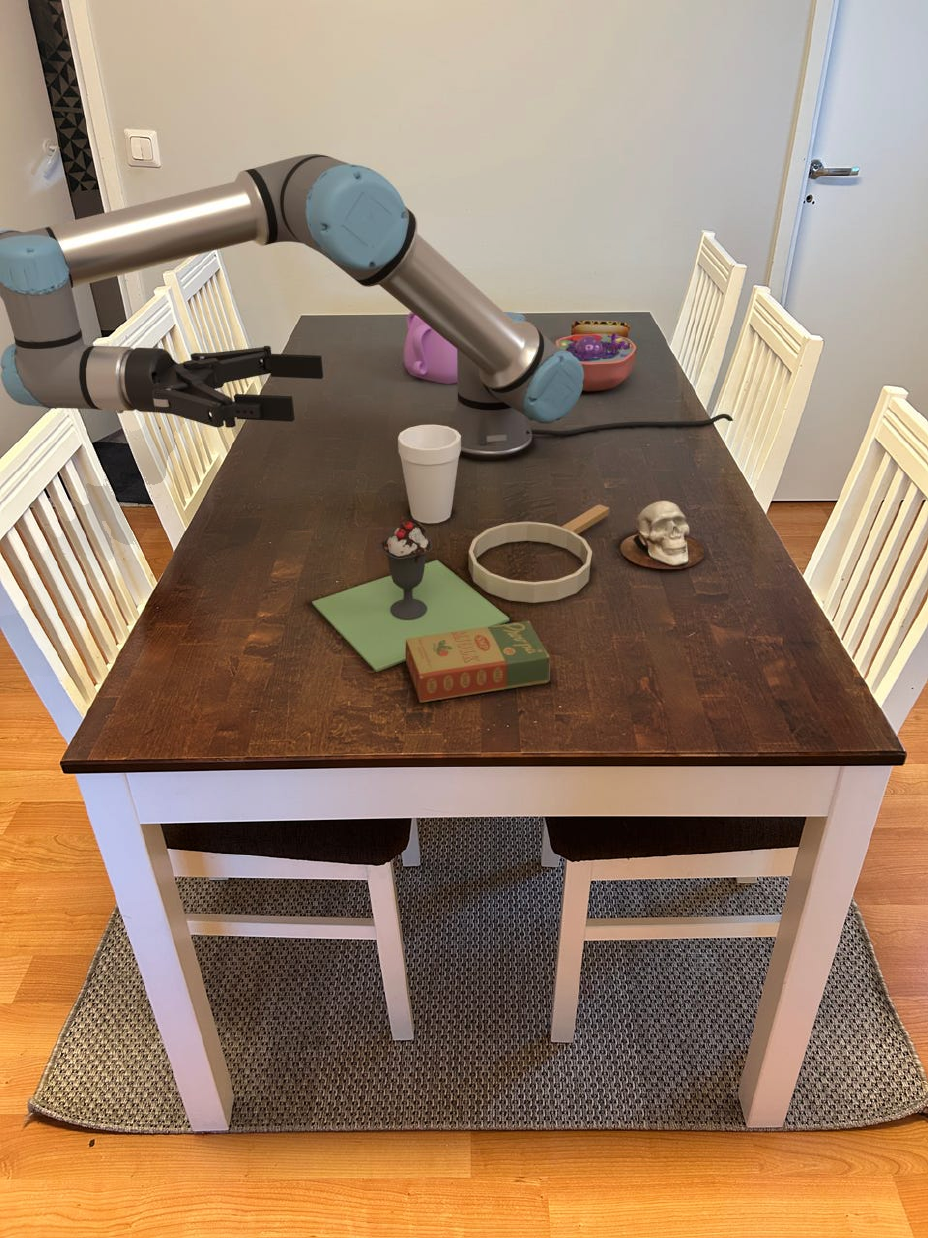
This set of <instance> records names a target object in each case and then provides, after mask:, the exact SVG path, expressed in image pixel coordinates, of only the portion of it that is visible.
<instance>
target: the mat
mask: <svg viewBox="0 0 928 1238" xmlns="http://www.w3.org/2000/svg"><path fill="white" fill-rule="evenodd" d="M412 595H413V599H417V600H420V601H422V602H423V603H424V604H425V605H426V606H427V611H426V613H425V614H424V615H423V616H421V617H420V618H417V619H413V620H403V619H399V618H396V617H395V616H393V615H392V614H391V612H390V608H391V606H392V604H393V603H395V602H397V601H399V600H402V599H403V598H404V591H403V589H401V588H400V587H398V586H397V585H396V584H395V583H394V582H393V580H392V577H391V574H390V575H387V576H384V577H382V578H379V579H376V580H373V581H369V582H367V583H363V584H360V585H358V586H355V587H352V588H348V589H345V590H343V591H340V592H336V593H333V594H330V595H328V596H325V597H322V598H319V599H316V600H312V601H311V605H313V607H314V608H315V609H316V610H317V611H318V612H319V613H320V614H321V615H322V616H323V617H324V618H325V620H326V621H328V622H329V624H330V625H331V626H332V627H333V628H334V629H335V630H336V631H337V632H338V633H339V634H340V635H341V636H342V638H344V640H346V641H347V643H348V644H349V645H350V646H351V647H352V648H353V649H354V650H355V651H356V653H358V655H359V656H360V657H361V658H362V659H363V660H364V661H365V662H366V663H367V664H368V665H369V666H370V667H371V668H372V669H373V670H374V672H375V673H379V672H381V671H384V670H386V669H389V668H391V667H394V666H396V665H398V664H401V663H404V662H406V654H405V646H406V639H407V638H414V637H421V636H427V635H435V634H442V633H448V632H455V631H462V630H469V629H475V628H482V627H489V626H495V625H502V624H506V623H508V622H509V621H510V618H509V617H508V616H507V615H506V614H505V613H503V612H502V611H501V610H500V609H498V608H497V607H496V606H495V605H493V604H492V603H491V601H489V600H488V599H486V598H485V597H484V596H483V595H481V594H480V593H479V592H477V591H476V589H474V588H473V587H471V586H470V585H469V584H468V583H466V582H465V581H464V580H463V579H462V578H461V577H459V576H458V575H456V573H454V572H453V571H452V570H450V569H449V568H448V567H447V566H446V565H444V564H443V562H440V561H439V560H438V559H435V560H431V561H428V562H425V567H424V574H423V579H422V581H421V583H420V584H419V585H418V586H417V587H415V588H413V590H412Z"/></svg>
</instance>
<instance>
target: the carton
mask: <svg viewBox="0 0 928 1238" xmlns="http://www.w3.org/2000/svg"><path fill="white" fill-rule="evenodd" d="M405 654H406V661H405V663H406V666H407V669H408V671H409V674H410V677H411V681H412V683H413V686H414V689H415V692H416V695H417V698H418V702H419V703H427V702H434V701H439V700H446V699H452V698H458V697H465V696H471V695H478V694H483V693H489V692H497V691H503V690H510V689H517V688H524V687H531V686H540V685H545V684H547V683H549V682H551V658H550V657H551V656H550V654H549V653H548V652H547V650H546V648H545V647H544V644H543V643H542V642H541V640H540V638H539V636H538V635H537V633H536V631H535V629H534V627H533V625H532V623H531V622H530V620H523V621H517V622H515V621H514V622H510V623H503V624H500V625H495V626H489V627H482V628H475V629H469V630H462V631H455V632H448V633H442V634H435V635H427V636H421V637H414V638H407V639H406V646H405Z"/></svg>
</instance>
